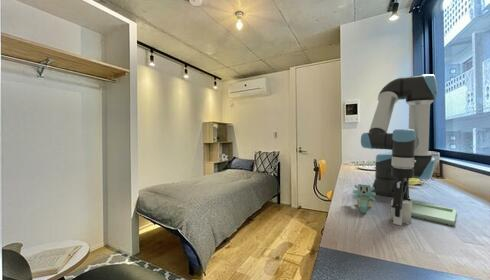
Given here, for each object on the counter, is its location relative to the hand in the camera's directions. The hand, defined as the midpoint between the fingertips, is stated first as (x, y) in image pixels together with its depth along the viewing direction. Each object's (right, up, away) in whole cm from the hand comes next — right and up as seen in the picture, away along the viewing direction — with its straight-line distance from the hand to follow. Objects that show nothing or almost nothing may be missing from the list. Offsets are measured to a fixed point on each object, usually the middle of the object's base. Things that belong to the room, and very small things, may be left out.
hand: (400, 219), depth 93 cm
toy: (-8, 0, +13) cm, 15 cm away
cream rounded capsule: (0, 0, 0) cm, 0 cm away
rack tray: (+16, 0, +7) cm, 17 cm away
